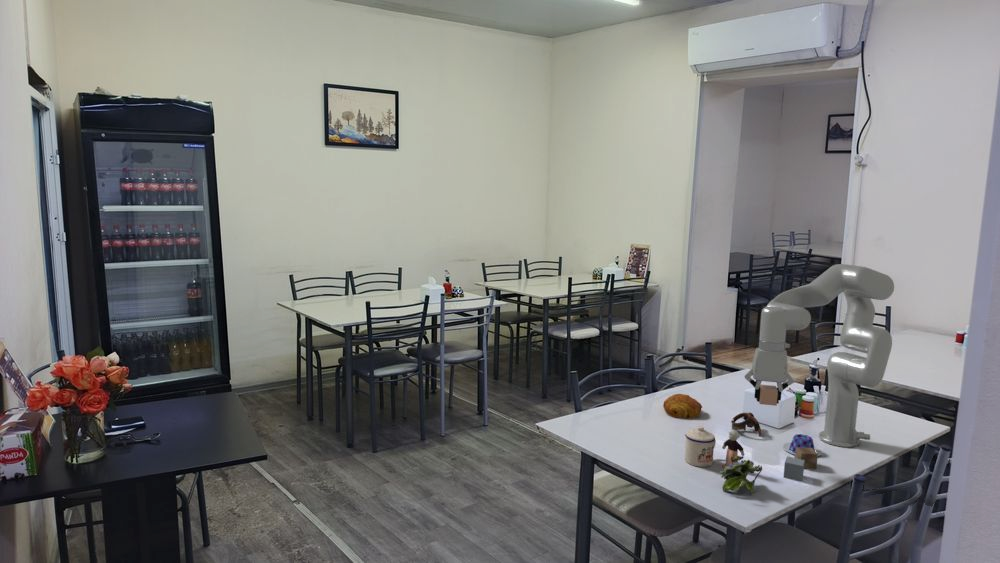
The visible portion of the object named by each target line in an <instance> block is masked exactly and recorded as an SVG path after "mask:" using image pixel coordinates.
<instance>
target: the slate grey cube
mask: <svg viewBox="0 0 1000 563" xmlns="http://www.w3.org/2000/svg"><path fill="white" fill-rule="evenodd" d="M804 462H805V460H801V459H797V458H795V457H791V456H786V458H785V461H784V467H783V468H784V469H783V478H785V479H789V480H793V481H798V482H802V481H803V477H804V472H805V468H804Z"/></svg>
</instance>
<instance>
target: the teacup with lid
mask: <svg viewBox="0 0 1000 563" xmlns="http://www.w3.org/2000/svg"><path fill="white" fill-rule="evenodd" d="M684 436H685V446H684V448H685V450H684V461H685V462H686V463H687V464H689V465H690V466H694V467H700V468H705V467H710V466H711V465H713V462H714V461H713V460H714V449H715V447H716V442H717V439H716V438H715V437H716V436H715V435H714V434H713V433H712V432H711V431H708V430H706V429H705V428H704V426H701V425H700V426H697V428H695V429H694V428H693V429H689V430H687V431H686V433H685V435H684Z"/></svg>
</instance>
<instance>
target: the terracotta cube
mask: <svg viewBox="0 0 1000 563" xmlns="http://www.w3.org/2000/svg"><path fill="white" fill-rule="evenodd" d="M777 396H778V390H777V385H773V384H772V385H771V384H762V383H761V384H760V401H759V402H758V403H759V405H766V406H774V407H775V406H776V407H777V405H778V404H777Z"/></svg>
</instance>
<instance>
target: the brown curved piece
mask: <svg viewBox="0 0 1000 563" xmlns="http://www.w3.org/2000/svg"><path fill="white" fill-rule="evenodd" d="M742 418H743V421H741V422H737V421H738V420H740V419H742ZM730 422H731V429H733V430H736V431H741V430H743V431H747V430H746V429H747V428H750V429H751V428H754V432H757V434H758V438H759V437H761V436H762V431H761V429H762V428H761V426H760V423H759V421H758V420H757V418H756V417H755V416H754V414H753V413H752V412H742V413H741V412H740V413H739V414H736V415H735V416H734V417H733V418H732V420H731V421H730Z"/></svg>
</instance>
